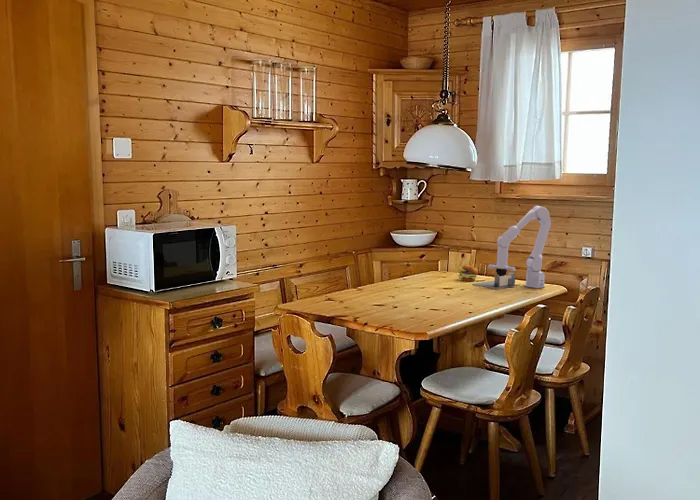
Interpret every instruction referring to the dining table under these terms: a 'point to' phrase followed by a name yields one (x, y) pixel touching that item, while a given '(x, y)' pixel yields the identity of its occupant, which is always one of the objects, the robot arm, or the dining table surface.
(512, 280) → the stile
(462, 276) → the cheeseburger
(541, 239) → the robot arm
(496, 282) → the hinge post
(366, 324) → the dining table surface
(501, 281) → the gate
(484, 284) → the mat
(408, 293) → the dining table surface
